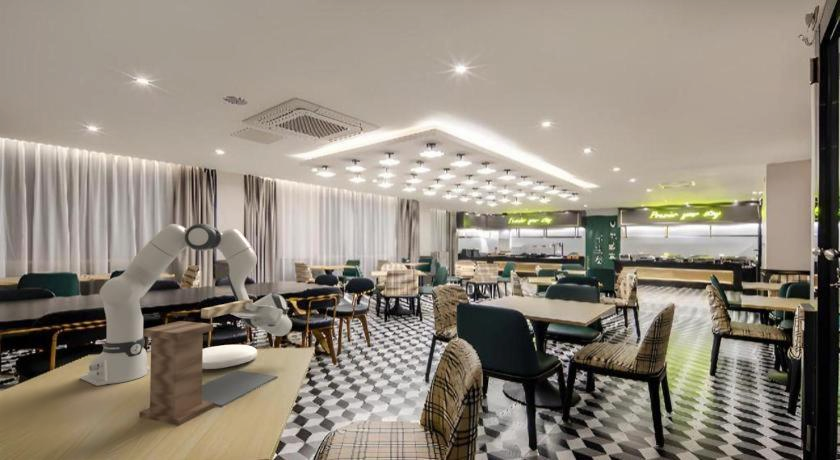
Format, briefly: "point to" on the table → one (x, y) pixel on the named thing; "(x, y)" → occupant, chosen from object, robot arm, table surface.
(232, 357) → the plate
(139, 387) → the table surface
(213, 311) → the rod
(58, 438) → the table surface
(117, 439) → the table surface
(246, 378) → the mat
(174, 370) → the stand
